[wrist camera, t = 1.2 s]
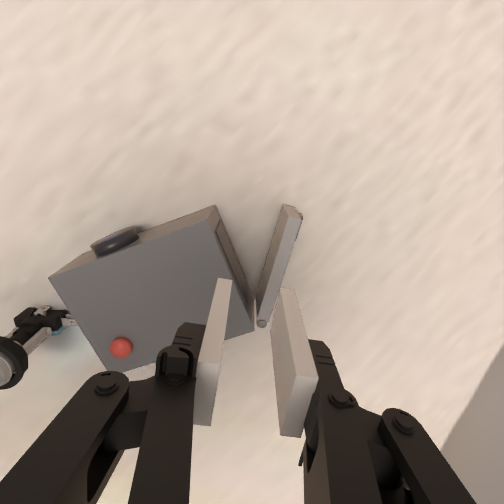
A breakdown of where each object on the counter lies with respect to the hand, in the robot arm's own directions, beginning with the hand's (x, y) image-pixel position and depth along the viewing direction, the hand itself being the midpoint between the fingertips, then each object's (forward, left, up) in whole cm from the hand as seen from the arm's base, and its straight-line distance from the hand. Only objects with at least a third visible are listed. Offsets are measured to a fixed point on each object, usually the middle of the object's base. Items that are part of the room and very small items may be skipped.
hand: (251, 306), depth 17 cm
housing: (-8, -8, -19) cm, 22 cm away
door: (+3, -3, -18) cm, 19 cm away
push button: (-21, -16, -19) cm, 32 cm away
